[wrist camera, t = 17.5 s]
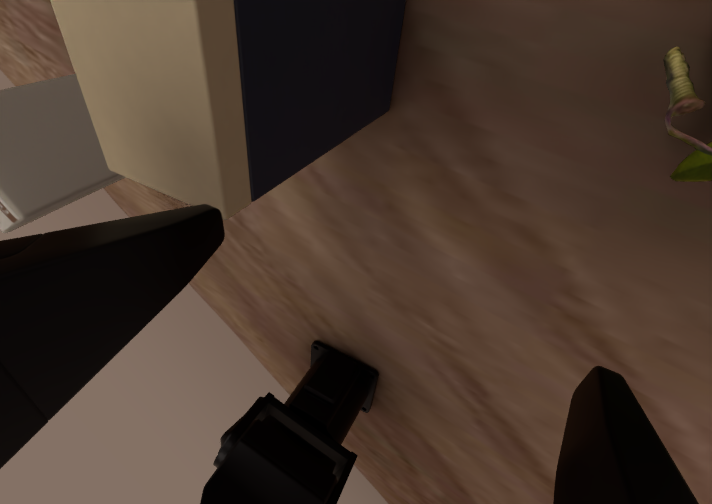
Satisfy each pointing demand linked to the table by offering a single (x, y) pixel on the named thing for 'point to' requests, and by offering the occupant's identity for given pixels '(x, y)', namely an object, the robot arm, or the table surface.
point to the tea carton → (228, 86)
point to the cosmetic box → (47, 150)
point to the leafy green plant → (707, 158)
